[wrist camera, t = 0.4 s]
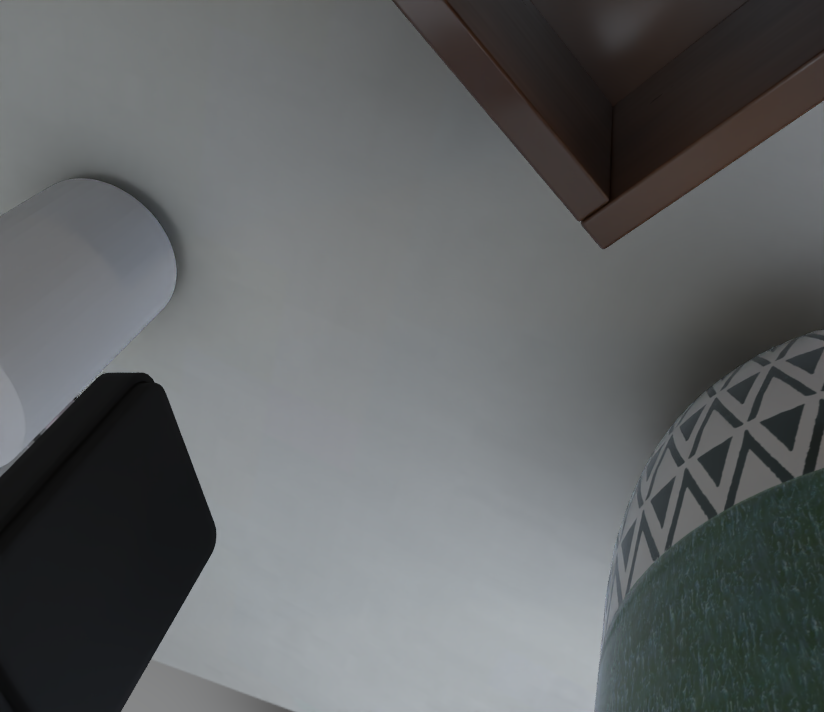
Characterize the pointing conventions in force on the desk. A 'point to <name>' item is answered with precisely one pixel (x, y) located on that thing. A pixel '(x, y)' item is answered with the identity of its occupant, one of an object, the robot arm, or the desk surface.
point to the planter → (726, 551)
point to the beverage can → (72, 296)
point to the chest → (630, 89)
